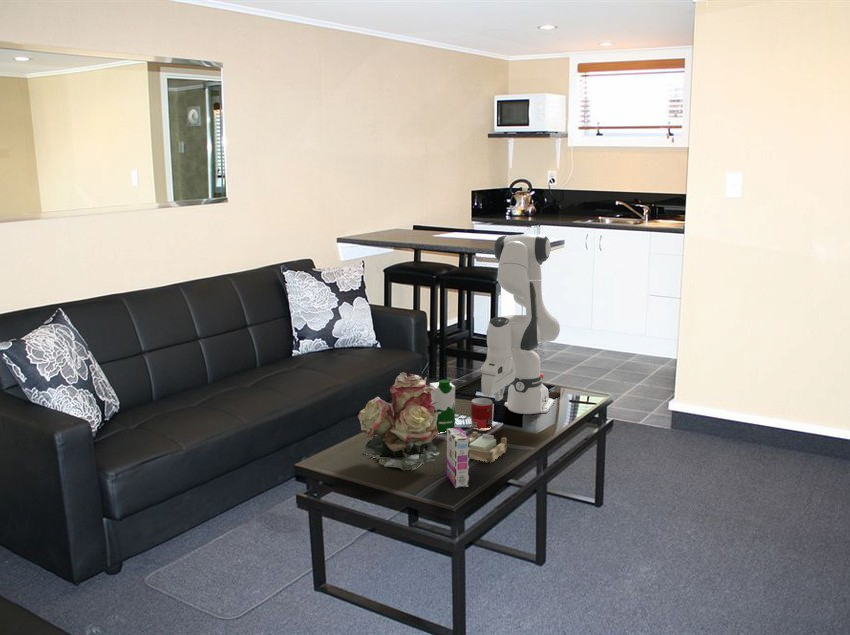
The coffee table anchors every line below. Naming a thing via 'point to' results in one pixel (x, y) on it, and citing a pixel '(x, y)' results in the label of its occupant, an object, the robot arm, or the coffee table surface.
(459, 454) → the candy bar box
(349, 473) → the coffee table surface
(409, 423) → the rose bouquet
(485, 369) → the robot arm
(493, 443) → the pale green box
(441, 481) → the coffee table surface
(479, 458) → the frame
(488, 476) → the coffee table surface
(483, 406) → the canned food
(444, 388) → the milk carton
